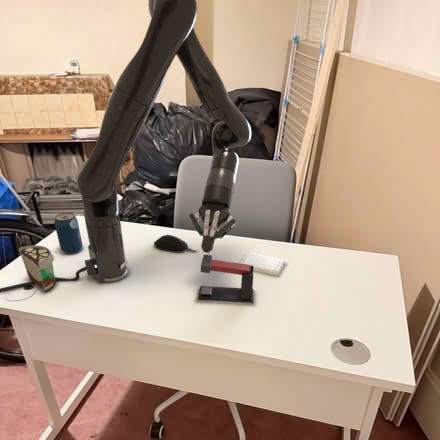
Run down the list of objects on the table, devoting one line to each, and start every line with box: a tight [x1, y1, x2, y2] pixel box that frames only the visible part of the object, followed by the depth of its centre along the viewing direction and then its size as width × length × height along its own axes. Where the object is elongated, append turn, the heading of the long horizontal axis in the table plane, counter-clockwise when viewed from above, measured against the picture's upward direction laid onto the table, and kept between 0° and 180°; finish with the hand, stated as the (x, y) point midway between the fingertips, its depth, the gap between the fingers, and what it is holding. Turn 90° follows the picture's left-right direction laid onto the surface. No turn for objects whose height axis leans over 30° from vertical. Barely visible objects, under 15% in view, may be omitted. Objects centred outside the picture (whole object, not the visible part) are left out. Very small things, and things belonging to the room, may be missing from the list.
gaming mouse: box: [153, 234, 196, 253], centre depth 131 cm, size 6×15×4 cm, turn 70°
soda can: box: [53, 212, 84, 255], centre depth 126 cm, size 7×7×12 cm
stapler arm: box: [200, 253, 250, 276], centre depth 104 cm, size 13×6×2 cm, turn 86°
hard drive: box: [239, 251, 286, 276], centre depth 123 cm, size 2×8×12 cm
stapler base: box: [197, 265, 254, 304], centre depth 107 cm, size 15×6×9 cm, turn 86°
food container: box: [18, 245, 57, 293], centre depth 111 cm, size 12×6×10 cm, turn 47°
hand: (206, 251), depth 102 cm, fingers closed
